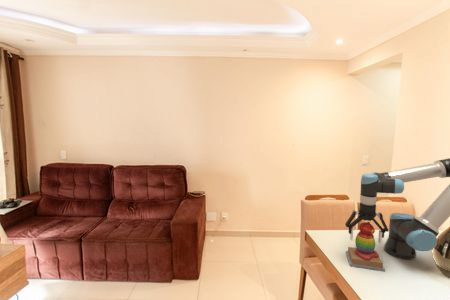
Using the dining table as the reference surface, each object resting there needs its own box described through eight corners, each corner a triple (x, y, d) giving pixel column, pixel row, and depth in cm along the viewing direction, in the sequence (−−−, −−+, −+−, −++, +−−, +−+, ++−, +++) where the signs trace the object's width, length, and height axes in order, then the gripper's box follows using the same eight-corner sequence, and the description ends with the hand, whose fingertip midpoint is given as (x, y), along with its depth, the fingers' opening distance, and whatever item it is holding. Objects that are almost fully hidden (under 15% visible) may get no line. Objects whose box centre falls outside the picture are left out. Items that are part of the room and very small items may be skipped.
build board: (377, 257, 138) (377, 250, 138) (384, 271, 125) (385, 264, 124) (345, 252, 143) (346, 246, 142) (350, 266, 130) (350, 258, 129)
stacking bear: (366, 261, 127) (369, 228, 125) (349, 252, 136) (351, 221, 134) (380, 257, 131) (383, 225, 129) (363, 248, 140) (365, 218, 138)
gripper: (392, 203, 130) (389, 241, 132) (341, 198, 138) (339, 235, 140) (397, 207, 123) (394, 248, 125) (343, 203, 130) (341, 241, 133)
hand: (365, 241), depth 133 cm, fingers open, 13 cm apart
